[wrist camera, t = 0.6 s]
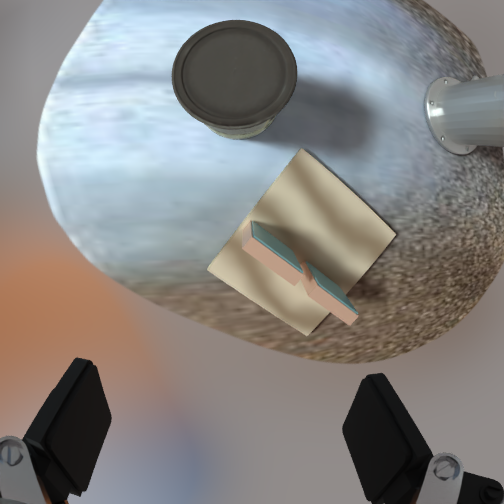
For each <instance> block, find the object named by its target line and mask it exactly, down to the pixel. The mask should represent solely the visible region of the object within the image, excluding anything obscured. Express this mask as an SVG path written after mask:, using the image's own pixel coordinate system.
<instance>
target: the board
mask: <svg viewBox="0 0 504 504" xmlns="http://www.w3.org/2000/svg"><path fill="white" fill-rule="evenodd" d="M250 220H251V221H252V220H253V221H254V222H255V223H257V224H258V225H260V226H261V227H262V228H264V229H265V230H266V231H268V232H269V233H270V234H272V235H273V236H274V237H276V238H277V239H278V240H280V241H281V242H282V243H283V244H285V245H286V246H287V247H289V248H290V249H291V250H293V252H294V254H295V256H296V258H297V260H298V262H299V264H300V265H301V264H302V262H303V261H305V262H306V261H307V262H308V263H310V264H311V265H312V266H314V267H315V268H316V269H318V270H319V271H320V272H321V273H323V274H324V275H325V276H327V277H328V278H329V279H330V280H332V281H333V282H334V283H336V284H337V285H338V286H339V287H340V288H341V289H342V290H343V292H344V293H345V295H346V294H347V293H348V292H349V291H350V289H351V288H352V287H353V286H354V285H355V284H356V283H357V281H358V280H359V279H360V278H361V277H362V276H363V275H364V273H365V272H366V271H367V270H368V269H369V267H370V266H371V265H372V264H373V263H374V261H375V260H376V259H377V258H378V257H379V255H380V254H381V253H382V252H383V250H384V249H385V248H386V247H387V245H388V244H389V243H390V242H391V240H392V239H393V238H394V237H395V235H396V234H395V233H394V232H393V231H392V230H391V229H390V228H389V227H388V226H387V225H386V224H385V223H384V222H383V221H382V220H381V219H380V218H379V217H378V216H377V215H376V214H375V213H374V212H373V211H372V210H371V209H370V208H369V207H368V206H367V205H366V204H365V203H364V202H363V201H362V200H361V199H360V198H359V197H358V196H356V195H355V194H354V193H353V192H352V191H351V190H350V189H349V188H348V187H347V186H346V185H344V184H343V183H342V182H341V181H340V180H339V179H338V178H337V177H335V176H334V175H333V174H332V173H331V172H330V171H329V170H327V169H326V168H325V167H324V166H323V165H322V164H320V163H319V162H318V161H317V160H316V159H314V158H313V157H312V156H311V155H310V154H308V153H307V152H306V151H305V150H304V149H302V148H301V149H300V150H299V151H298V152H297V153H296V155H295V156H294V157H293V158H292V160H291V161H290V162H289V163H288V165H287V166H286V167H285V168H284V170H283V171H282V172H281V173H280V175H279V176H278V177H277V178H276V180H275V181H274V182H273V183H272V185H271V186H270V187H269V189H268V190H267V191H266V192H265V194H264V195H263V196H262V197H261V199H260V200H259V201H258V203H257V204H256V205H255V206H254V208H253V209H252V210H251V212H250V213H249V214H248V215H247V217H246V218H245V219H244V221H243V222H242V223H241V224H240V226H239V227H238V228H237V230H236V231H235V232H234V234H233V235H232V236H231V238H230V239H229V240H228V241H227V243H226V244H225V245H224V247H223V248H222V249H221V251H220V252H219V253H218V255H217V256H216V257H215V259H214V260H213V261H212V263H211V264H210V265H209V267H208V269H207V270H208V271H209V272H211V273H212V274H214V275H215V276H217V277H218V278H220V279H221V280H222V281H224V282H225V283H227V284H228V285H230V286H231V287H233V288H234V289H236V290H237V291H239V292H240V293H242V294H243V295H245V296H246V297H248V298H249V299H251V300H252V301H254V302H255V303H257V304H258V305H260V306H261V307H263V308H264V309H266V310H267V311H269V312H270V313H272V314H273V315H275V316H276V317H278V318H280V319H281V320H283V321H284V322H286V323H287V324H289V325H290V326H292V327H294V328H295V329H297V330H298V331H300V332H301V333H303V334H305V335H306V336H308V335H309V334H310V333H311V332H312V331H313V330H314V329H315V327H316V326H317V325H318V324H319V323H320V322H321V321H322V320H323V319H324V318H325V317H326V316H327V315H328V314H329V313H330V311H328V310H327V309H325V308H324V307H323V306H321V305H320V304H318V303H317V302H316V301H314V300H313V299H311V298H310V297H309V296H308V295H307V293H306V290H305V288H304V286H303V283H302V281H301V279H300V281H299V282H298V283H297V284H296V285H295V286H293V285H292V284H290V283H289V282H288V281H286V280H285V279H283V278H282V277H281V276H279V275H278V274H276V273H275V272H274V271H272V270H271V269H269V268H268V267H267V266H265V265H264V264H263V263H261V262H260V261H258V260H257V259H256V258H254V257H253V256H251V255H250V254H249V253H247V252H246V251H244V250H243V249H242V233H243V229H244V228H245V226H246V225H247V224H248V222H249V221H250Z"/></svg>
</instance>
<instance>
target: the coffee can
mask: <svg viewBox="0 0 504 504" xmlns="http://www.w3.org/2000/svg"><path fill="white" fill-rule="evenodd" d="M296 81H297V65H296V60H295V57H294V55H293V53H292V51H291V49H290V47H289V46H288V44H287V43H286V42H285V40H284V39H283V38H282V37H281V36H280V35H278V34H277V33H276V32H274V31H273V30H271V29H270V28H268V27H266V26H263V25H261V24H258V23H255V22H251V21H246V20H228V21H222V22H218V23H214V24H212V25H209V26H207V27H204V28H203V29H201V30H199V31H198V32H196V33H195V34H193V35H192V36H191V37H190V38H189V39H188V40H187V41H186V42H185V43H184V44H183V45H182V47H181V48H180V50H179V52H178V53H177V56H176V58H175V61H174V64H173V68H172V85H173V89H174V93H175V95H176V97H177V99H178V101H179V103H180V104H181V106H182V107H183V108H184V109H185V110H186V111H187V112H188V113H189V114H190V115H191V116H192V117H194V118H195V119H197V120H198V121H200V122H202V123H204V124H205V125H206V126H207V127H208V128H209V129H211V130H212V131H213V132H214V133H216V134H217V135H220V136H222V137H225V138H229V139H246V138H251V137H253V136H256V135H258V134H260V133H261V132H263V131H264V130H265V129H267V128H268V127H269V125H270V124H271V123H272V122H273V120H274V118H275V116H276V115H277V114H278V113H279V112H280V111H281V110H282V109H283V108H284V107H285V105H286V104H287V103H288V101H289V100H290V98H291V96H292V94H293V92H294V89H295V86H296Z"/></svg>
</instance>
